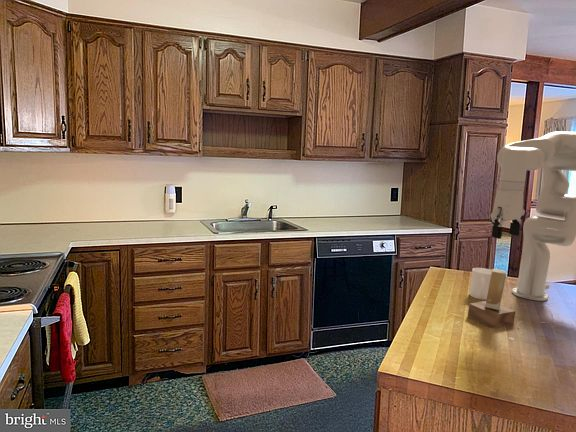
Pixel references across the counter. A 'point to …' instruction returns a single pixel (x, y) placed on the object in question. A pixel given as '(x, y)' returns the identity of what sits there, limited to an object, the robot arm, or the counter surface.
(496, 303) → the skincare box
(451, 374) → the counter surface
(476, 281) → the mug
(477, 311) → the walnut block
